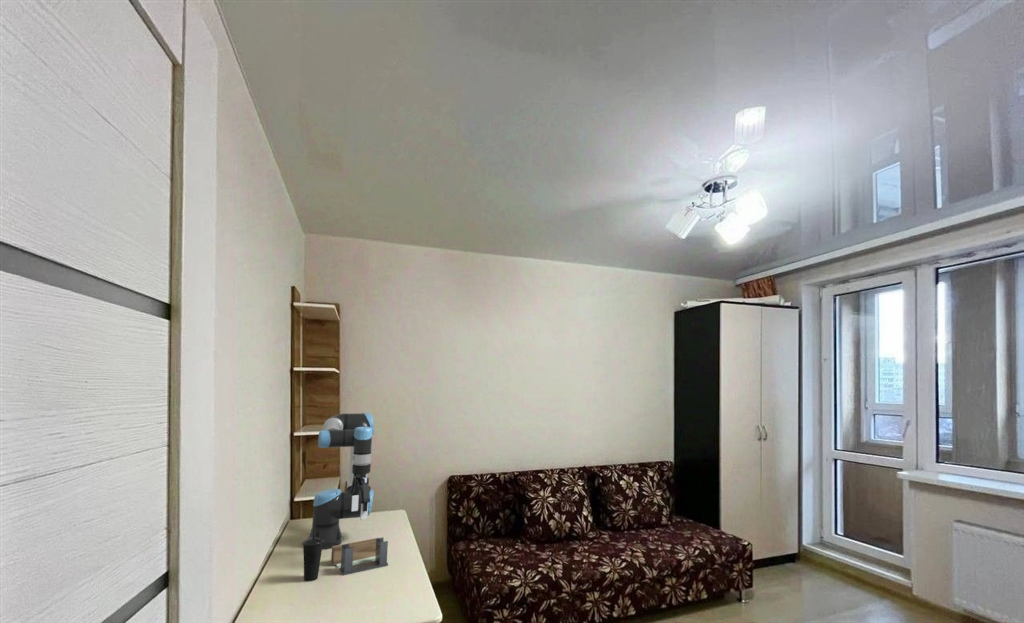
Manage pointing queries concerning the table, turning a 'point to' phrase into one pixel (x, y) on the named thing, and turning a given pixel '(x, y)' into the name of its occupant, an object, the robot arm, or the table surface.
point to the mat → (359, 561)
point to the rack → (379, 561)
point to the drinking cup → (312, 556)
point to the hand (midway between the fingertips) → (359, 514)
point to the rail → (355, 550)
